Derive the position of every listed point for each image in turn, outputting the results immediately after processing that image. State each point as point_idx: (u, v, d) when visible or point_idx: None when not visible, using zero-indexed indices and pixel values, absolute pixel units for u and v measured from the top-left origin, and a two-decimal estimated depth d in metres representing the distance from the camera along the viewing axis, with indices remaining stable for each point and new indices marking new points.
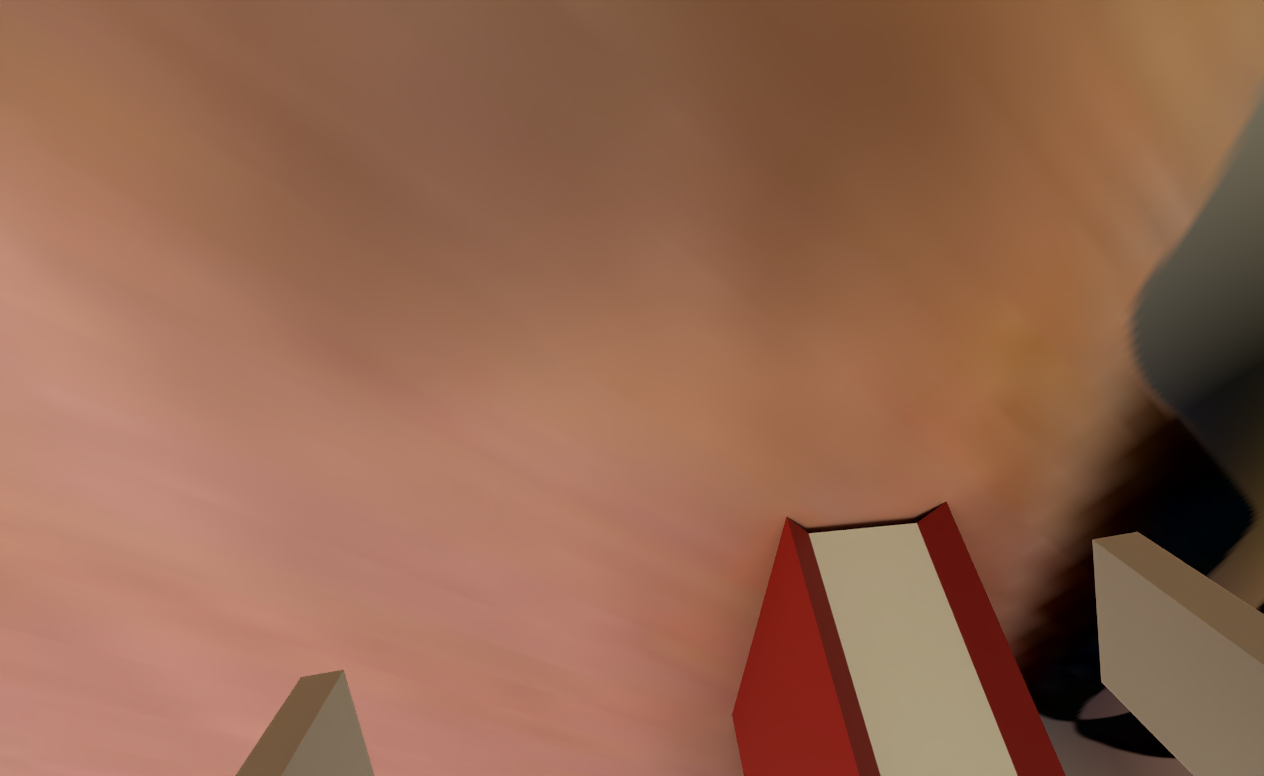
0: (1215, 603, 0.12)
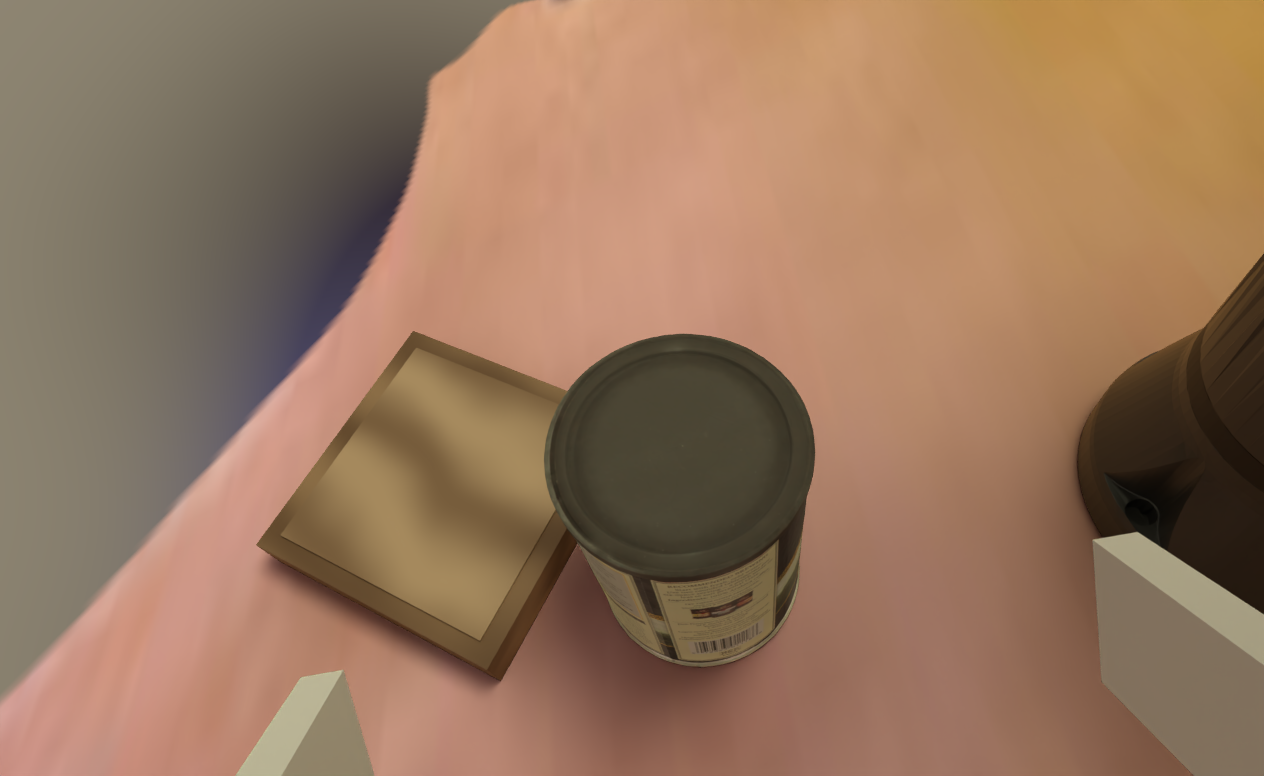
0: (1215, 603, 0.12)
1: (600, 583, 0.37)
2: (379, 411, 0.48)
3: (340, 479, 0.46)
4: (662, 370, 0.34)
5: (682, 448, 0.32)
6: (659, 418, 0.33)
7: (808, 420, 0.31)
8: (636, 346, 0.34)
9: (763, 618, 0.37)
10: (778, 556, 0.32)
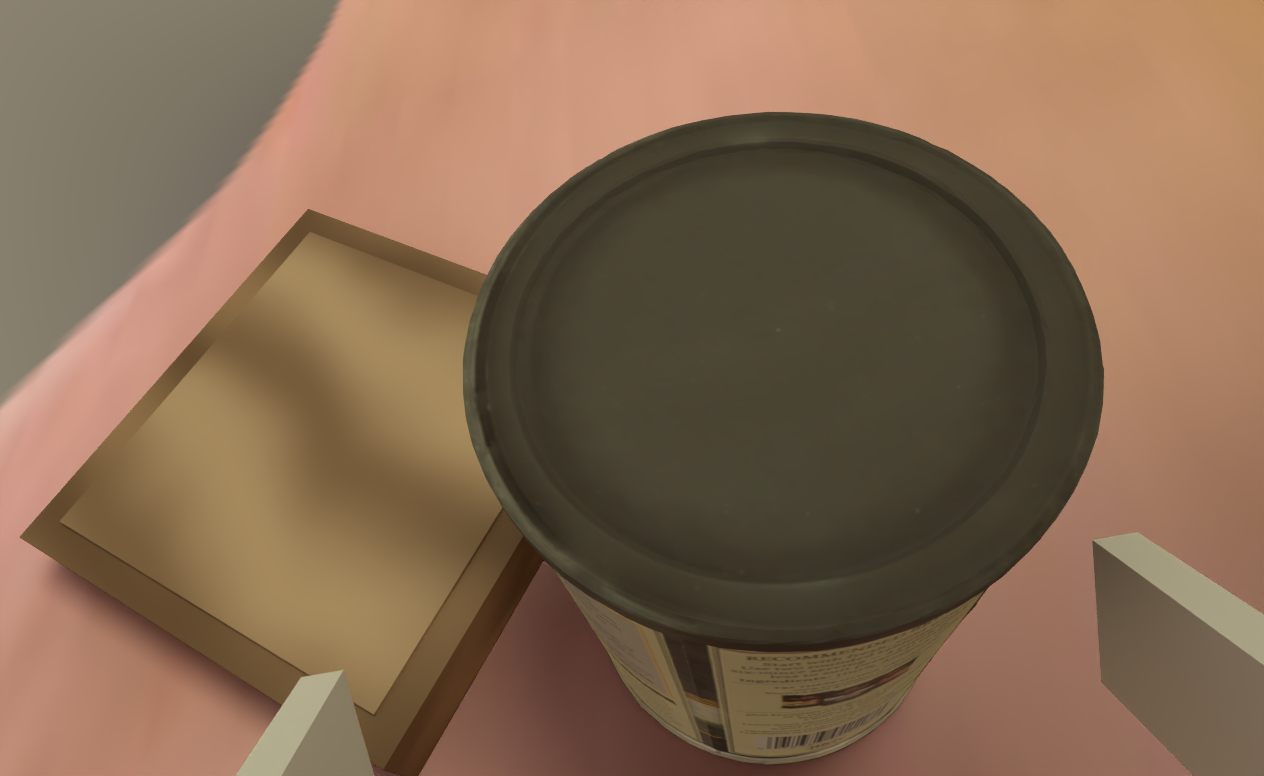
0: (1215, 603, 0.12)
1: (589, 623, 0.19)
2: (243, 326, 0.30)
3: (168, 431, 0.28)
4: (726, 181, 0.16)
5: (778, 335, 0.14)
6: (723, 272, 0.15)
7: (1072, 272, 0.14)
8: (670, 136, 0.16)
9: (900, 692, 0.20)
10: None
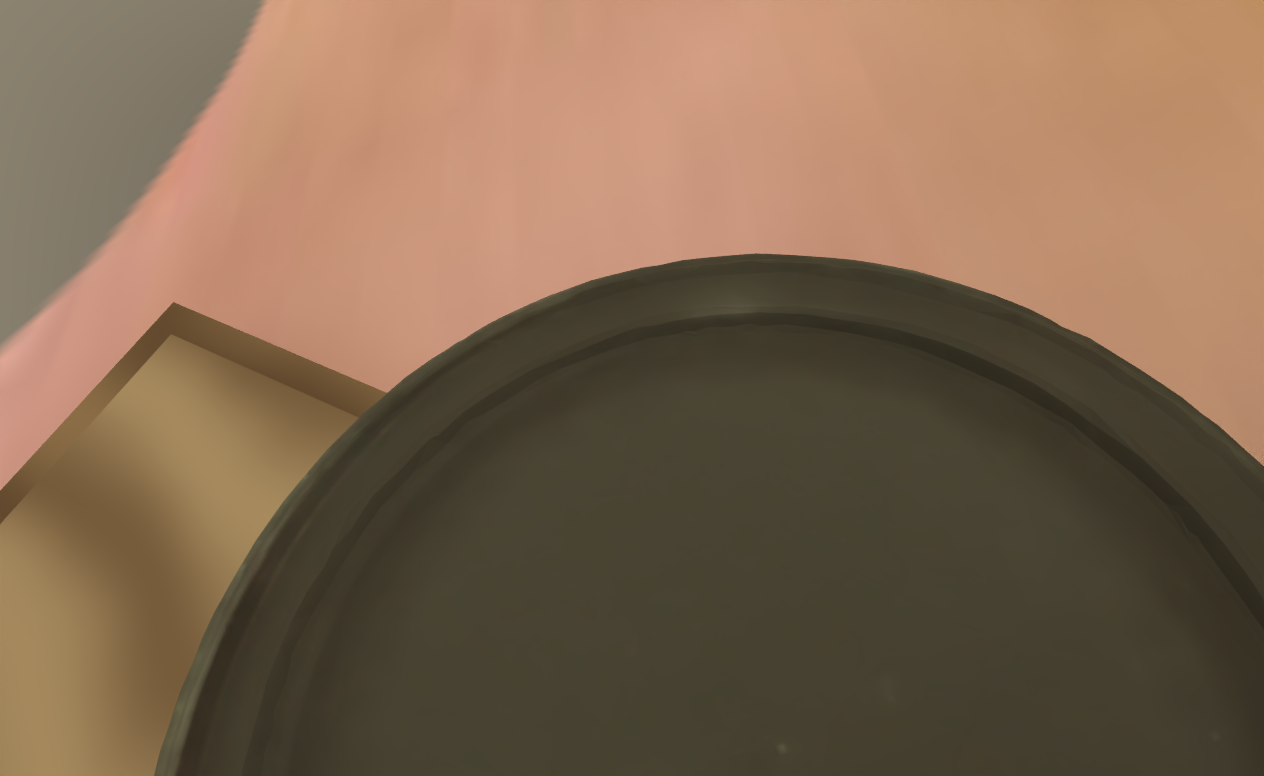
0: None
1: None
2: (71, 466, 0.23)
3: None
4: (680, 389, 0.09)
5: (783, 763, 0.07)
6: (673, 596, 0.07)
7: None
8: (583, 299, 0.09)
9: None
10: None
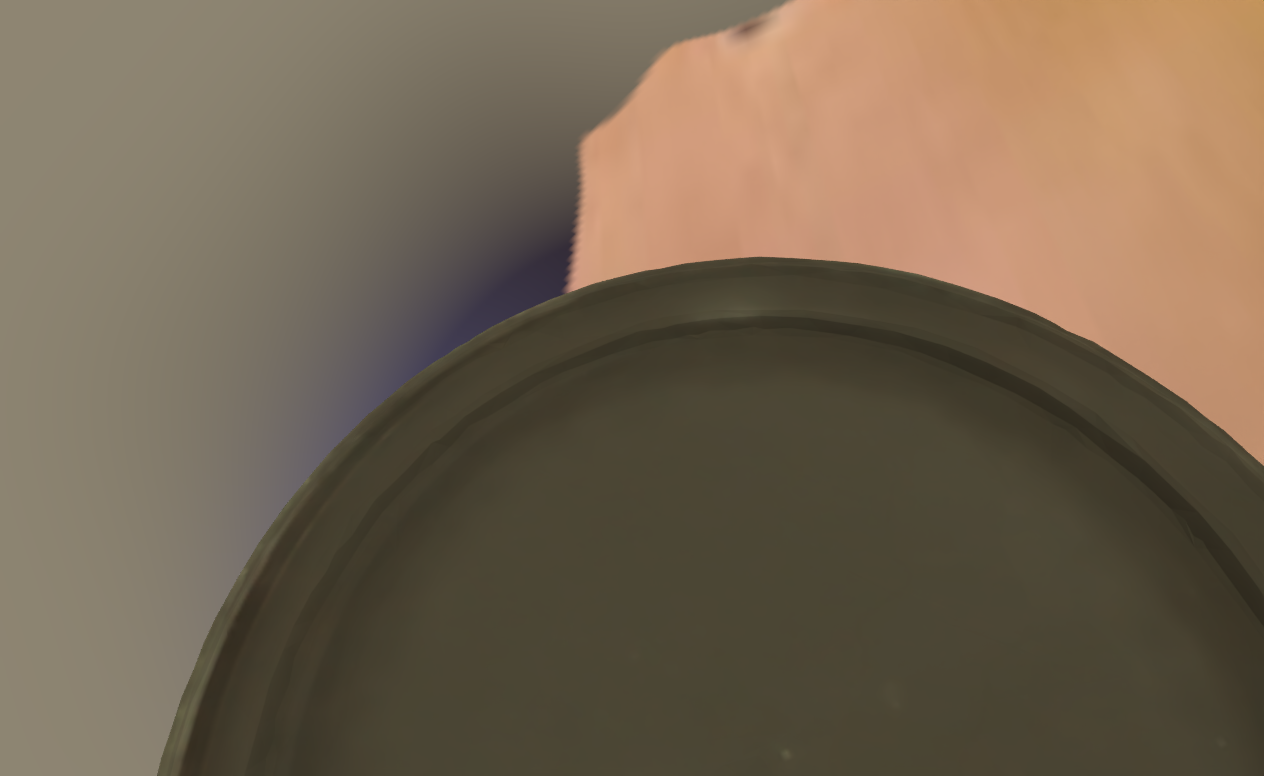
0: None
1: None
2: None
3: None
4: (684, 393, 0.09)
5: (787, 768, 0.07)
6: (676, 602, 0.07)
7: None
8: (585, 302, 0.09)
9: None
10: None
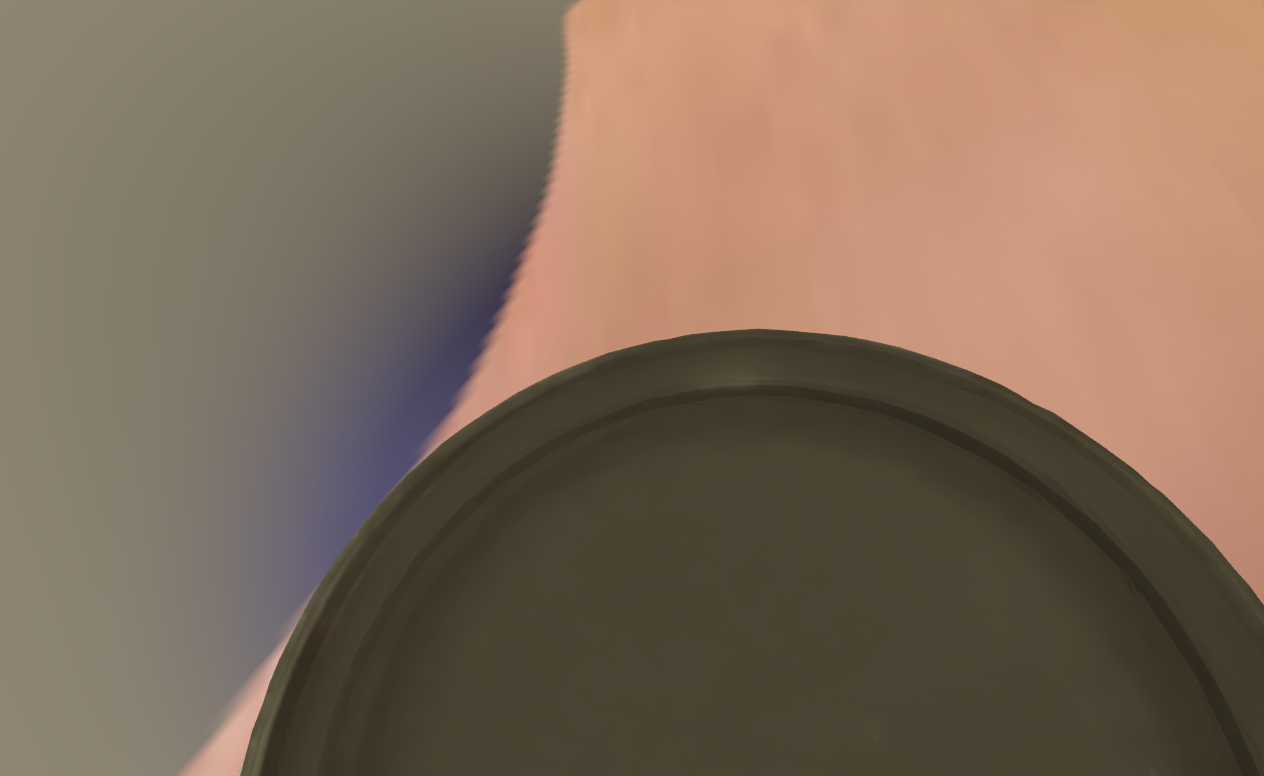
0: None
1: None
2: None
3: None
4: (690, 456, 0.10)
5: None
6: (686, 646, 0.09)
7: None
8: (602, 370, 0.10)
9: None
10: None
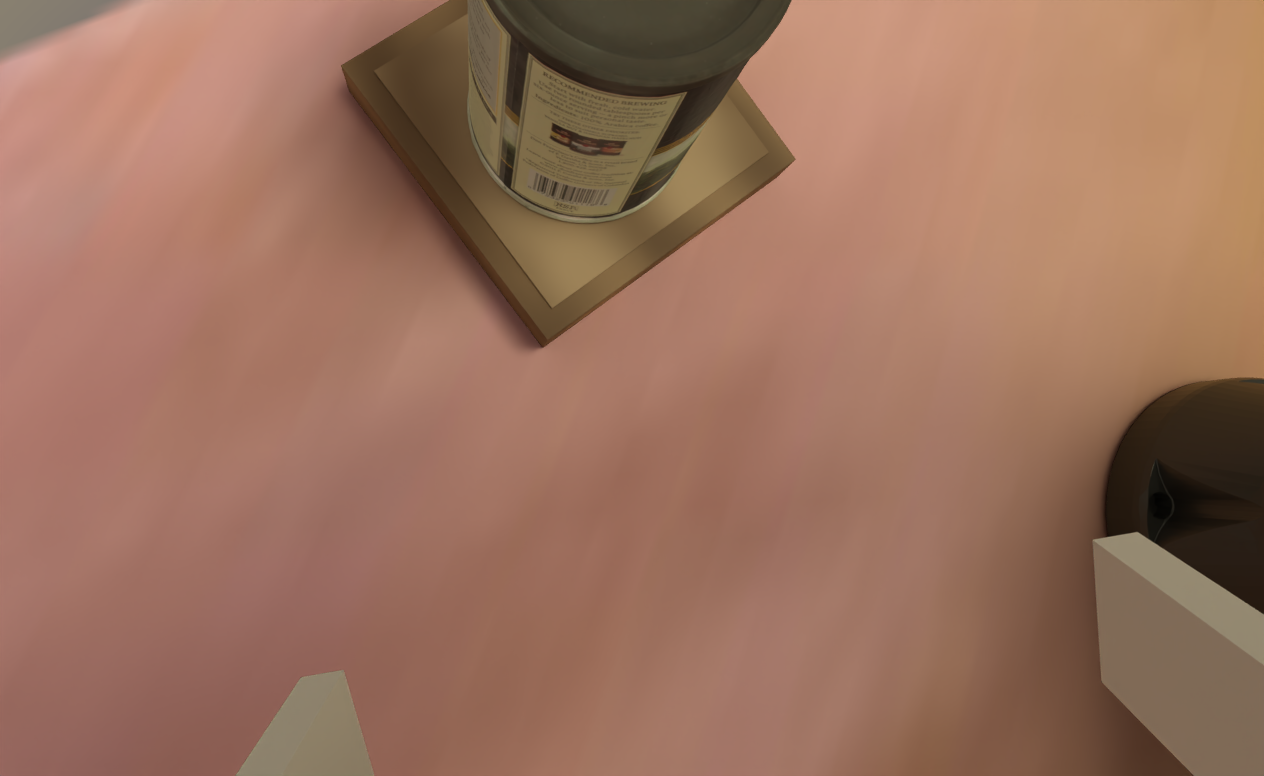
0: (1215, 603, 0.12)
1: (470, 51, 0.31)
2: None
3: (463, 44, 0.38)
4: None
5: None
6: None
7: None
8: None
9: (617, 188, 0.34)
10: (673, 117, 0.27)
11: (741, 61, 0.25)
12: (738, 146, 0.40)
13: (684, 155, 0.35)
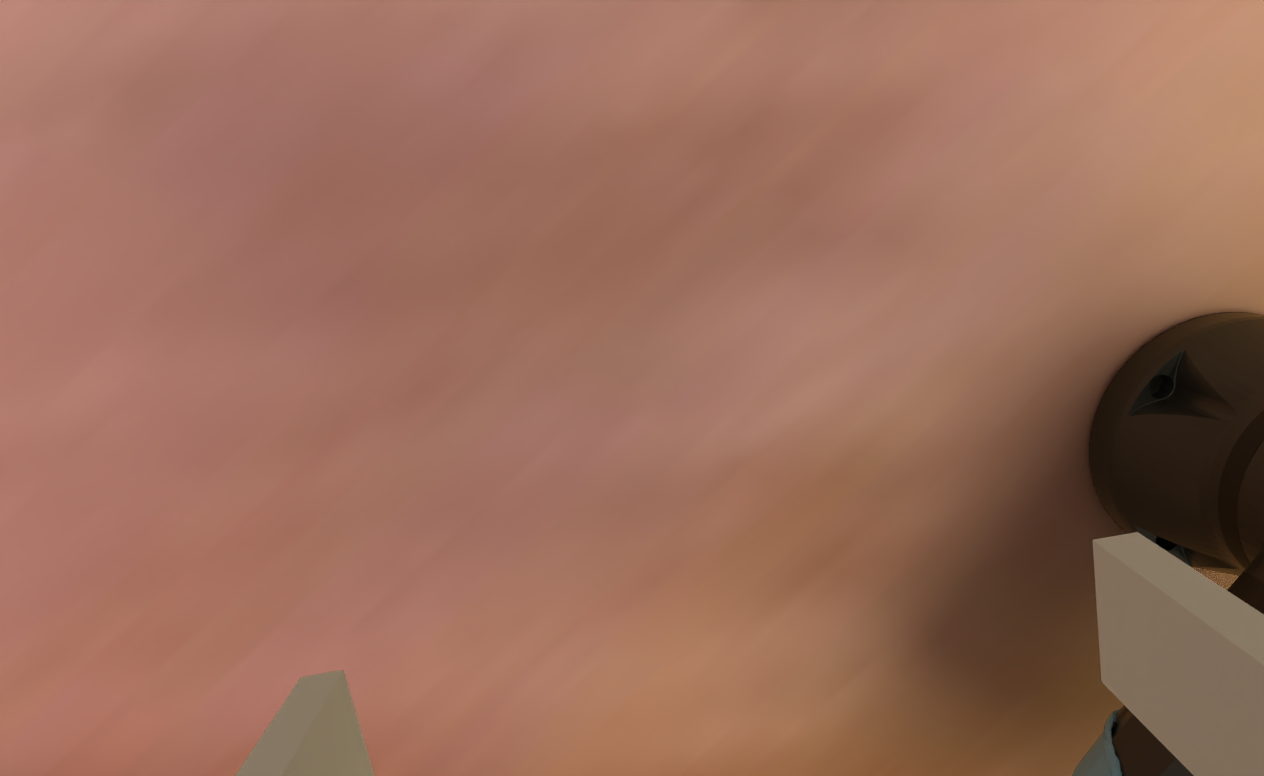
0: (1215, 603, 0.12)
1: None
2: None
3: None
4: None
5: None
6: None
7: None
8: None
9: None
10: None
11: None
12: None
13: None
